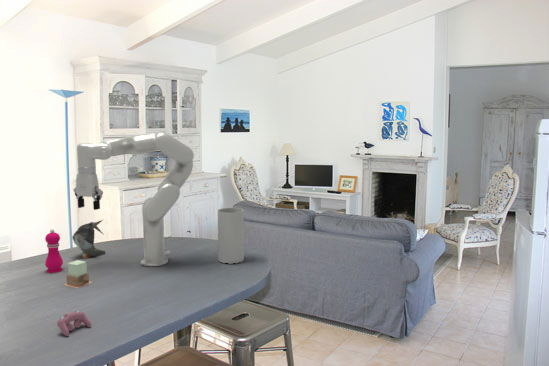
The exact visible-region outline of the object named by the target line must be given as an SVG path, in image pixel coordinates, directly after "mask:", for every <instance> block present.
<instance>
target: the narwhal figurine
mask: <svg viewBox="0 0 549 366" xmlns="http://www.w3.org/2000/svg"><path fill="white" fill-rule="evenodd" d="M102 221H104V219H101V220H98V221H95V222H94V221H91V222H89V223H85V224H82V225H80V226H79V227H78V228H77V230H76V231H74V233H73V235H72V237H71V238H72V240H73V243H74V244H75V245H76V247H77V248H78V249H79V250H81V251H82V259H85V258H87V259H88V258H89V259H90V258H91V257H96V256H102V255H106V250H103V249H99V248H96V247H95V244H94V243H95V230H96V231H98V232H100V233H101V234H102V235H105V234H104V233H103V231H101V229H100V228H99V227H98V225H99V224H100V223H102Z"/></svg>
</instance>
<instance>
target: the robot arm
mask: <svg viewBox="0 0 549 366" xmlns="http://www.w3.org/2000/svg"><path fill="white" fill-rule="evenodd" d="M158 151H159V152H161V153H163V154H164V155H166V156H167V157H169V158H170V159H172V160H174V161H175V163H174V166H173V168H172V169H171V170H170V172H169V173H168V174H167V175H166V177H165V178H164V179H163V180H162V181H161V182H160V183H159V185H158V187H157V192H156V193H155V194H154V196H152V197H148V198H146V199H145V200H144V201H143V203H142V207H141V210H142V211H141V213H142V228H143V229H142V232H143V234H142V235H143V258H142V259H141V260H140V264H141V265H142V266H145V267H160V266H163V265H166V264H168V263H169V259H168V258H167V256H169V255H171V251H170V250H167V251H165V233H164V232H165V229H164V228H165V226H164V225H165V223H164V217H165V216H166V215H167V213H169V211H170V210H171V209H172V207H173V206H174V205H175V204H176V202H177V201H178V200H179V198H180V194H181V190H180V189H182V187H183V186H184V184H185V183H186V182H187V180H188V179H189V177H190V176H191V174H192V172H193V166H194V161H193V160H194V157H195V156H194V155H195V154H194V151H193V149H192V148H191V147H190V146H188V145H186V144H184V143H183V142H181V141H180V140H178V139H177V138H175V137H174V136H172V135H170V134H169V133H167V132H165V131H156V132H151V133H144V134H139V135H134V136H128V137H125V138H119V139H118V138H117V139H111V140H106V141H101V142H99V143H96V144H95V143H90V142H88V143H87V142H83V143H79V144H77V145H76V156H77V158H76V159H77V174H76V180H75V187H74V188H73V189H72V190H73V192H74V196H75V197H76V199H77V208H78V209H81V208H85V198H84V197H86V198H89V197H90V198H92V199H93V201H92V202H93V203H92V204H93V210H94V211H97V210H100V209H101V204H100V203H101V202H100V201H101V200H102V197H103V194H104V191H103V190H102V189H100V185H99V184H100V183H99V178H98V175H97V168H96V166H97V165H96V164H97V163H96V160H103V161H104V160H105V161H106V160H109V159H111V158H112V157H116V156H123V155H142V154H146V153H154V152H158Z"/></svg>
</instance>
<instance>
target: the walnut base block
mask: <svg viewBox="0 0 549 366" xmlns="http://www.w3.org/2000/svg"><path fill="white" fill-rule="evenodd" d="M89 282H90V277H89V272H87V274H84V275H81V276H78V277H75V276H71V275H69V274H68V273H67V274H66V284H67V285H71V286H75V287H78V286H81V285H84V284H86V283H89ZM84 286H85V285H84Z"/></svg>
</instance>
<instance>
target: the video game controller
mask: <svg viewBox="0 0 549 366" xmlns="http://www.w3.org/2000/svg"><path fill="white" fill-rule="evenodd" d="M73 321H74V322H73ZM71 322H73V324H72V323H71ZM56 324H57V326H58V329H60V331H61V332H62V334H63V335H64V336H65V337H69V336H70V332H71V331H72V330H73V329H74V328H75V329H79V328H80V327H81V326H82V324H83V325H85V326H86V327H87V328H91V326H92V322H91V321H90V319H89V318H88V316H87V314H86V313H84V312H83V311H82V310H77V311H76V310H75V311H70V312H68V313H66V314H64V315H62V316H60V318H58V320H57V322H56Z"/></svg>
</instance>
